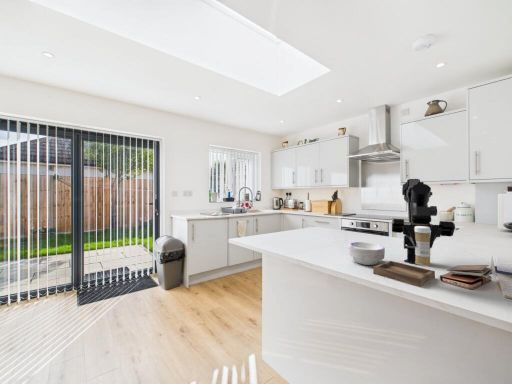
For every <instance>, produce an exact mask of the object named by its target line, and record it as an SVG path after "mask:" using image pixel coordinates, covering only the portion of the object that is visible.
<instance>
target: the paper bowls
mask: <svg viewBox="0 0 512 384" xmlns="http://www.w3.org/2000/svg"><path fill="white" fill-rule="evenodd" d="M347 246H348V251H347V253H348V255H349V256H350V257H352V259H353V261H354V262H355V263H358V264H360V265H364V266H377V265H379V262H380V261H382V260H384V259H385V253H386V251H385V246H383V245H381V244H378V243H374V242H369V241H368V242H367V241H352V242H349V243H348V245H347Z"/></svg>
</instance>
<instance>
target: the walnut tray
mask: <svg viewBox="0 0 512 384" xmlns="http://www.w3.org/2000/svg"><path fill="white" fill-rule="evenodd" d="M372 268H373V271H372V273H373V275H377V276H380V277H383V278H387V279H390V280H393V281H398V282H401V283H404V284H408V285H412V286H415V287H418V288H420V287H422V286H423V285H425V284H427V283H429V282H431V281H432V280H434V279H436V270H432V269H427V268H423V267H419V266H415V265H412V264H411V265H410V264H406V263H403V262H398V261H394V260H388V261H386V262H383V263H380V264H376V265H373V267H372Z"/></svg>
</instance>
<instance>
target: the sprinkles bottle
mask: <svg viewBox="0 0 512 384" xmlns="http://www.w3.org/2000/svg"><path fill="white" fill-rule="evenodd" d="M430 233H431V230H430V227H426V226H415V240H416V247H415V255H416V256H415V258H416V261H415V263H416V264H415V265H418V266H421V267H430V266H431V264H432V263H431V248H430Z"/></svg>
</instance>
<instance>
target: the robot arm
mask: <svg viewBox="0 0 512 384" xmlns="http://www.w3.org/2000/svg"><path fill="white" fill-rule="evenodd" d="M401 194H402V196H403V199H404V201H405V202H406V203H407V211H408V212H407V214H408V216H407V217H408V221H405V219H404V218H393V219H392V220H391V232H392V233H395V234H396V233H399V234H401V233H402V234H403V249H405V250H406V259H404V260H403V262H404V263H409V264H414V265H417V264H416V263H415V261H416V258H415V256H416V255H415V247H416V240H415V226H426V227H430V249H432V248H433V245H434V242H435V241H436V239H437V238H440V237H453V236H454V233H455V230H456V224H455V223H454V222H453V221H450V220H449V221H448V220H439V222H438V224H433V223H432V217H436V216H437V215H438V206H436V205H430V206H428V205H429V204H428V203H429V202H430V198H431V197H432V196H433V191H432V187H430V186H429V185H428V184H426V183H424V181H421V180H420V179H418V178H408V179H407V180H406V182H405V183H404V184H402V187H401Z"/></svg>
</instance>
